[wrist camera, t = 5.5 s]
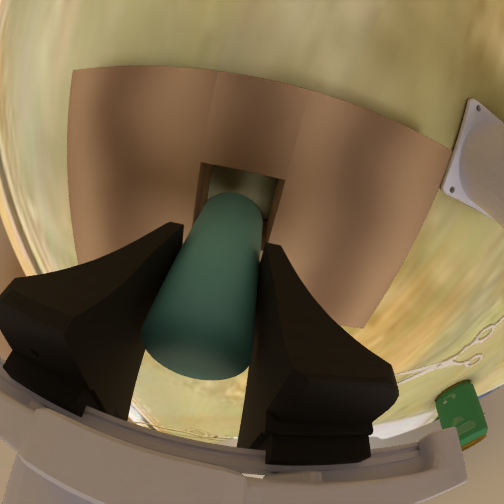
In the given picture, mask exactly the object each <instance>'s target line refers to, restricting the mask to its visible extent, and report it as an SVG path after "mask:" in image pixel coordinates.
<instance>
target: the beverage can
mask: <svg viewBox="0 0 504 504" xmlns="http://www.w3.org/2000/svg"><path fill="white" fill-rule="evenodd" d="M436 409H437V412H438V416H439V419H440V423H441V427H442V430H443V429H447V428H451V427H456V430H457V433H458V437H459V441H460V445H461V449H462V451H464V450H466V449H468V448H470V447H471V446H473V445H475V444H477V443H478V442H480V441H481V440H483V439H484V438H485V437H486V433H487V429H488V427H487V424H486V421H485V418H484V414H483V411H482V408H481V405H480V403H479V400H478V397H477V394H476V391H475V389H474V386H473V384H471V383H470V382H469V381H462V382H459V383H457V384H455V385H453V386H451V387H449V388H448V389H446V390H445V391H444V392H442V393H441V394H440V395H439V396H438V398H437V403H436Z"/></svg>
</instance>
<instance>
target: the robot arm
mask: <svg viewBox="0 0 504 504" xmlns="http://www.w3.org/2000/svg"><path fill="white" fill-rule="evenodd" d="M477 106H478V110H477ZM451 187H452V190H451V191H450V188H451ZM441 190H442V191H443V192H444V193H446V194H448V195H450V196H452V197H454V198H456V199H458V200H460V201H462V202H463V203H465V204H467V205H469V206H471V207H473V208H475V209H476V210H478V211H480V212H482V213H484V214H485V215H487V216H489V217H490V218H492V219H494V220H496V221H497V222H498V223H499V224H500V225H501V226H502V227H504V123H503V122H502V121H501V120H500V119H498V118H497V117H496V116H495V115H494V114H493V113H491V112H490V111H489V110H488V109H487V108H485V107H484V106H483V105H482V104H480V103H479V102H478V101H477V100H475V99H472V98H471V99H469V100H468V102H467V106H466V110H465V114H464V118H463V121H462V125H461V128H460V132H459V135H458V138H457V141H456V145H455V148H454V151H453V154H452V157H451V159H450V162H449V165H448V168H447V170H446V173H445V176H444V178H443V181H442V183H441ZM183 232H184V224H179V223H174V222H168V223H166V224H164V225H162V226H160V227H159V228H157V229H155V230H153V231H152V232H150V233H148V234H146V235H145V236H143V237H141V238H139V239H138V240H136V241H134V242H132V243H130V244H128V245H126V246H124V247H122V248H120V249H118V250H116V251H114V252H112V253H109V254H107V255H105V256H102V257H100V258H97V259H95V260H92V261H89V262H86V263H83V264H80V265H77V266H74V267H71V268H67V269H63V270H59V271H55V272H50V273H46V274H40V275H34V276H27V277H20V278H15V279H14V280H13V281H12V282H11V283H10V284H9V285H8V286H7V288H6V289H5V290H4V291H3V292H2V294H1V295H0V330H1V332H2V333H3V335H4V337H5V339H6V340H7V342H8V343H9V345H10V347H11V348H12V352H11V354H10V355H9V357H8V358H7V360H6V361H5V360H4V359H2V358H1V357H0V438H1V439H2V440H3V441H4V442H6V443H7V444H8V445H9V446H11V447H12V448H13V449H14V450H16V451H17V455H16V458H15V461H14V464H13V467H12V470H11V473H10V476H9V480H8V483H7V487H6V490H5V494H4V498H3V502H2V504H418V503H421V502H423V501H426V500H428V499H431V498H433V497H435V496H438V495H440V494H442V493H445V492H447V491H449V490H451V489H453V488H455V487H457V486H459V485H461V484H463V483H465V482H467V474H466V468H465V463H464V458H463V454H462V449H461V445H460V441H459V437H458V433H457V430H456V427H451V428H447V429H443V430H439V431H436V432H433V433H431V434H428V435H427V436H425V437H423V438H422V439H421V440H419V442H414V443H409V444H404V445H398V446H391V447H385V448H377V449H370V444H369V436H368V435H371V434H372V433H373V426H372V422H373V421H374V420H376V419H377V418H378V417H380V416H381V415H382V414H383V413H385V412H386V411H387V410H388V409H389V408H390V407H391V406H392V405H393V404H394V403H395V402H396V400H397V398H398V396H399V390H398V386H397V382H396V379H395V375H394V372H393V369H392V366H391V364H389V363H388V362H386V361H385V360H383V359H382V358H380V357H379V356H377V355H376V354H374V353H373V352H371V351H370V350H368V349H367V348H365V347H364V346H363V345H362V344H360V343H359V342H358V341H357V340H355V339H354V338H353V337H352V336H351V335H349V334H348V333H347V332H346V331H345V330H344V329H343V328H342V327H341V326H339V325H338V324H337V323H336V322H335V321H334V320H333V319H332V318H331V317H330V316H329V315H328V314H327V313H326V311H325V310H324V309H323V308H322V307H321V306H320V304H319V303H318V302H317V301H316V300H315V299H314V297H313V296H312V295H311V293H310V292H309V291H308V289H307V288H306V286H305V285H304V284H303V282H302V281H301V279H300V278H299V276H298V274H297V273H296V271H295V269H294V268H293V266H292V264H291V263H290V261H289V259H288V257H287V255H286V253H285V252H284V250H283V248H282V246H281V245H277V244H272V243H268V242H266V243H265V246H264V250H263V253H262V257H261V260H260V264H259V277H258V290H257V302H256V314H255V326H254V338H253V349H252V359H251V362H250V364H249V371H248V378H247V386H246V393H245V400H244V406H243V413H242V419H241V425H240V431H239V437H238V443H237V447H230V446H224V445H218V444H212V443H206V442H201V441H196V440H192V439H187V438H183V437H179V436H175V435H171V434H167V433H163V432H159V431H156V430H152V429H149V428H146V427H142V426H139V425H136V424H133V423H130V422H127V420H128V414H129V410H130V405H131V400H132V396H133V392H134V387H135V384H136V380H137V376H138V372H139V369H140V365H141V362H142V359H143V355H144V352H145V349H146V348H145V347H144V345H143V342H142V339H141V328H142V326H143V324H144V321H145V319H146V317H147V315H148V313H149V311H150V309H151V307H152V304H153V302H154V300H155V298H156V296H157V294H158V292H159V290H160V288H161V286H162V284H163V282H164V280H165V278H166V276H167V274H168V272H169V270H170V268H171V266H172V264H173V262H174V260H175V258H176V257H177V255H178V253H179V251H180V249H181V247H182V244H183ZM241 473H246V474H258V475H265V476H264V477H263V479H260V478H253V477H245V476H243V475H242V474H241Z"/></svg>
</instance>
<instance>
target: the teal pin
mask: <svg viewBox="0 0 504 504" xmlns="http://www.w3.org/2000/svg"><path fill="white" fill-rule="evenodd" d="M262 227H263V219H262V215H261V212H260V210H259V208H258V206H257V205H256V204H255V203H254V202H253V201H252V200H251V199H249V198H248V197H246V196H244V195H242V194H238V193H232V192H227V193H221V194H218V195H216V196H214V197H212V198H211V199H210V200H209V201H208V202H207V203H206V204H205V205H204V207H203V209H202V210H201V212H200V214H199V216H198V218H197V219H196V221H195V223H194V225H193V227H192V228H191V230H190V232H189V234H188V236H187V238H186V240H185V241H184V243H183V245H182V247H181V249H180V251H179V253H178V255H177V257H176V258H175V260H174V262H173V264H172V266H171V268H170V270H169V272H168V274H167V276H166V278H165V280H164V282H163V284H162V286H161V288H160V290H159V292H158V294H157V296H156V298H155V300H154V302H153V304H152V307H151V309H150V311H149V313H148V315H147V317H146V319H145V321H144V324H143V326H142V328H141V339H142V342H143V345H144V347H145V348H146V350H147V351H148V353H149V354H150V355H151V356H152V357H153V358H154V359H155V360H156V361H157V362H159V363H160V364H161V365H163V366H164V367H166V368H168V369H170V370H171V371H173V372H176V373H178V374H181V375H184V376H187V377H190V378H195V379H201V380H223V379H228V378H232V377H234V376H237V375H239V374H240V373H242V372H243V371H245V370H246V369H247V367H248V366H249V364H250V362H251V359H252V349H253V338H254V326H255V314H256V302H257V290H258V277H259V264H260V252H261V240H262Z"/></svg>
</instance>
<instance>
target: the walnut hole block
mask: <svg viewBox="0 0 504 504" xmlns="http://www.w3.org/2000/svg"><path fill="white" fill-rule="evenodd" d="M451 154H452V150H450V149H448V148H447V147H445V146H443V145H441V144H439V143H438V142H436V141H434V140H432V139H430V138H428V137H427V136H425V135H423V134H421V133H419V132H417V131H415V130H413V129H411V128H409V127H407V126H404V125H402V124H400V123H398V122H396V121H394V120H391V119H389V118H387V117H384V116H382V115H380V114H377V113H375V112H372V111H370V110H367V109H365V108H362V107H360V106H357V105H354V104H351V103H349V102H346V101H343V100H340V99H337V98H334V97H331V96H328V95H325V94H321V93H318V92H315V91H311V90H308V89H304V88H301V87H297V86H293V85H289V84H285V83H281V82H277V81H272V80H267V79H263V78H258V77H252V76H247V75H241V74H235V73H229V72H222V71H214V70H205V69H196V68H184V67H167V66H115V67H99V68H87V69H78V70H73V73H72V80H71V89H70V99H69V111H68V131H67V167H68V188H69V201H70V211H71V220H72V228H73V235H74V242H75V248H76V254H77V260H78V265H80V264H83V263H86V262H89V261H92V260H95V259H97V258H100V257H102V256H105V255H107V254H109V253H112V252H114V251H116V250H118V249H120V248H122V247H124V246H126V245H128V244H130V243H132V242H134V241H136V240H138V239H139V238H141V237H143V236H145V235H146V234H148V233H150V232H152V231H153V230H155V229H157V228H159V227H160V226H162V225H164V224H166V223H168V222H174V223H179V224H184V232H183V243H184V241H185V240H186V238H187V236H188V234H189V232H190V230H191V228H192V227H193V225H194V223H195V221H196V219H197V218H198V216H199V214H200V212H201V210H202V209H203V207H204V205H205V204H206V203H207V196H208V190H209V184H210V177H211V171H212V165H213V164H214V165H219V166H224V167H229V168H234V169H239V170H244V171H248V172H253V173H257V174H262V175H266V176H270V177H275V178H278V182H277V186H276V189H275V193H274V197H273V201H272V204H271V208H270V212H269V216H268V219H267V221H265V220H263V227H262V240H261V252H260V260H261V257H262V253H263V250H264V246H265V243H266V242H268V243H272V244H277V245H281V246H282V248H283V250H284V252H285V253H286V255H287V257H288V259H289V261H290V263H291V264H292V266H293V268H294V269H295V271H296V273H297V274H298V276H299V278H300V279H301V281H302V282H303V284H304V285H305V286H306V288H307V289H308V291H309V292H310V293H311V295H312V296H313V297H314V299H315V300H316V301H317V302H318V303H319V304H320V306H321V307H322V308H323V309H324V310H325V311H326V313H327V314H328V315H329V316H330V317H331V318H332V319H333V320H334V321H335V322H336V323H337V324H338V325H341V326H349V327H356V328H364V326H365V325H366V323H367V322H368V320H369V319H370V317H371V316H372V314H373V313H374V311H375V310H376V308H377V307H378V305H379V303H380V302H381V300H382V299H383V297H384V295H385V294H386V292H387V290H388V289H389V287H390V285H391V284H392V282H393V280H394V278H395V277H396V275H397V273H398V271H399V270H400V268H401V266H402V264H403V262H404V260H405V259H406V257H407V255H408V253H409V251H410V249H411V247H412V245H413V243H414V241H415V239H416V237H417V235H418V233H419V231H420V229H421V227H422V225H423V223H424V221H425V219H426V216H427V214H428V212H429V210H430V207H431V205H432V203H433V201H434V198H435V196H436V193H437V191H438V189H439V186H440V184H441V181H442V178H443V176H444V173H445V171H446V168H447V165H448V162H449V160H450V157H451ZM182 245H183V244H182Z"/></svg>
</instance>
